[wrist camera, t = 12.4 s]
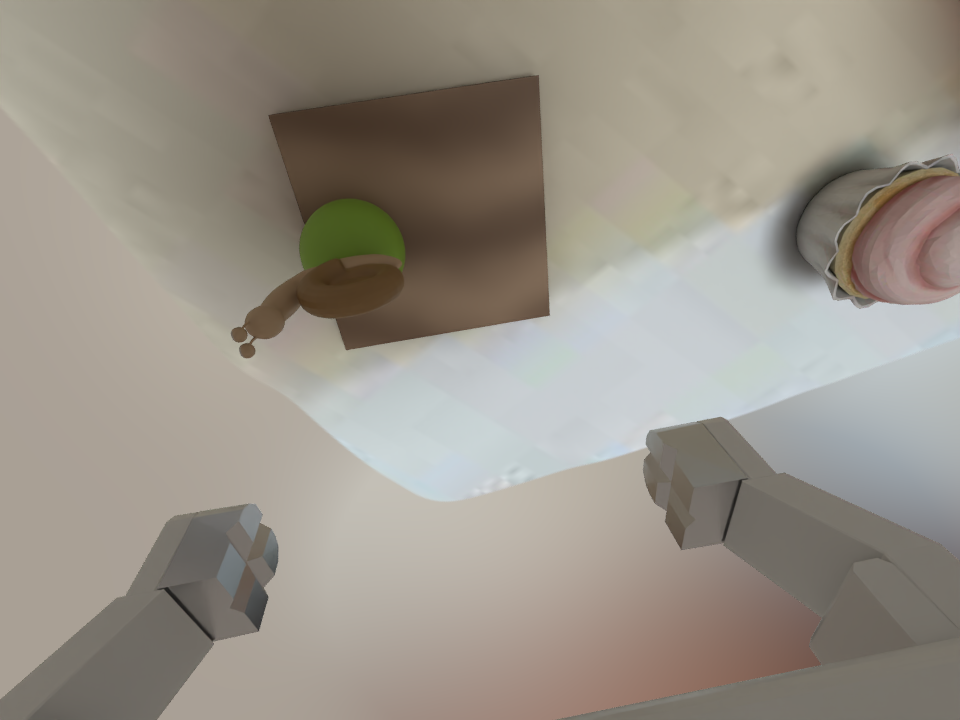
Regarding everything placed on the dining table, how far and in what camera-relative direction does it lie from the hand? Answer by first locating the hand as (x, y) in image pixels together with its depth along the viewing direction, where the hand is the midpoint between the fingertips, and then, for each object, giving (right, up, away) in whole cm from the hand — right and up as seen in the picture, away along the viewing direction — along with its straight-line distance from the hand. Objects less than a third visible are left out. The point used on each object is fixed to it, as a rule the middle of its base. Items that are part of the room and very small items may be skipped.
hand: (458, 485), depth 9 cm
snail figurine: (-7, +10, +17) cm, 21 cm away
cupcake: (+25, +13, +22) cm, 36 cm away
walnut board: (-3, +11, +18) cm, 22 cm away
